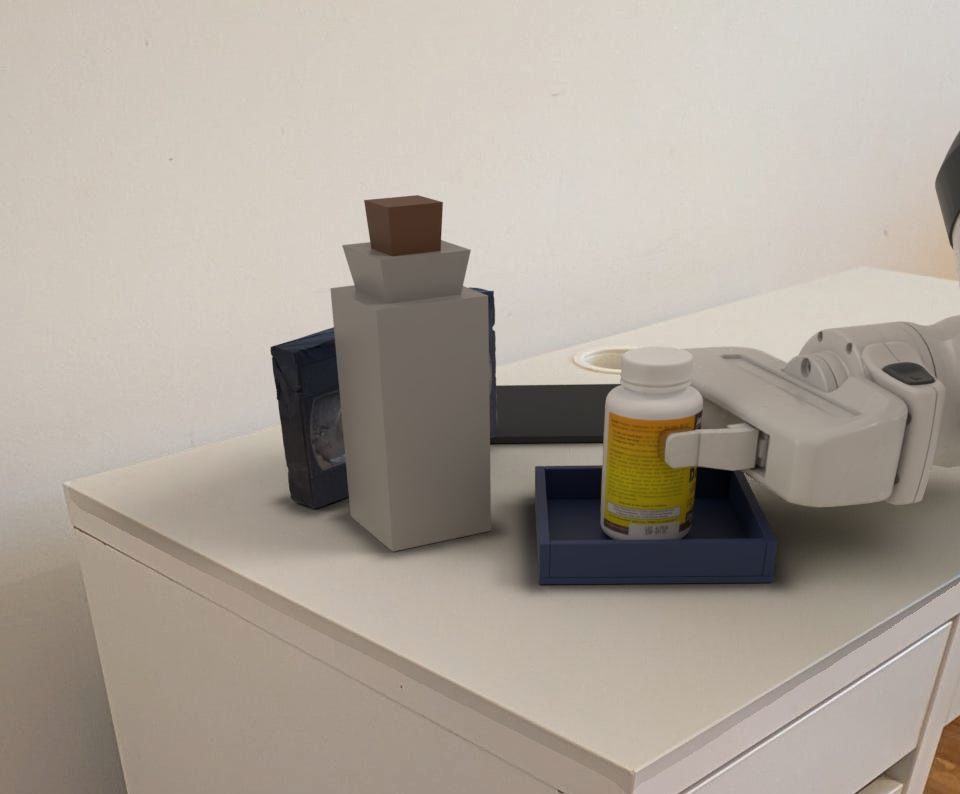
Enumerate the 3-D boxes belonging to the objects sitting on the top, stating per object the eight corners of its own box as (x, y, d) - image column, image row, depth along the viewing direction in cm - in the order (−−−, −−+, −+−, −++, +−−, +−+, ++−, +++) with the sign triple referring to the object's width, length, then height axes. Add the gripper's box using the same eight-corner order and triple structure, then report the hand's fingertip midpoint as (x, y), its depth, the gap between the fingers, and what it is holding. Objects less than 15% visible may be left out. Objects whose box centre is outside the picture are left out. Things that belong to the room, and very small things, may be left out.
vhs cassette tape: (313, 511, 75) (292, 351, 68) (285, 501, 76) (261, 343, 70) (504, 437, 85) (500, 291, 78) (475, 429, 86) (469, 285, 80)
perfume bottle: (350, 516, 74) (322, 199, 63) (444, 497, 76) (432, 189, 65) (392, 551, 69) (369, 214, 58) (491, 530, 71) (486, 203, 61)
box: (735, 500, 75) (739, 463, 73) (772, 582, 64) (778, 542, 63) (534, 502, 75) (535, 465, 74) (538, 584, 65) (539, 544, 63)
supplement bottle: (699, 547, 67) (717, 365, 61) (606, 551, 67) (615, 369, 61) (681, 513, 72) (696, 340, 66) (593, 517, 72) (600, 344, 66)
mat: (690, 388, 96) (690, 382, 96) (714, 440, 85) (714, 434, 84) (477, 391, 96) (477, 385, 96) (472, 443, 85) (472, 437, 85)
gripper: (769, 313, 75) (573, 333, 72) (965, 395, 59) (725, 425, 56) (757, 412, 79) (571, 435, 76) (938, 513, 63) (712, 547, 60)
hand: (638, 431), depth 66 cm, fingers closed on supplement bottle, 5 cm apart
